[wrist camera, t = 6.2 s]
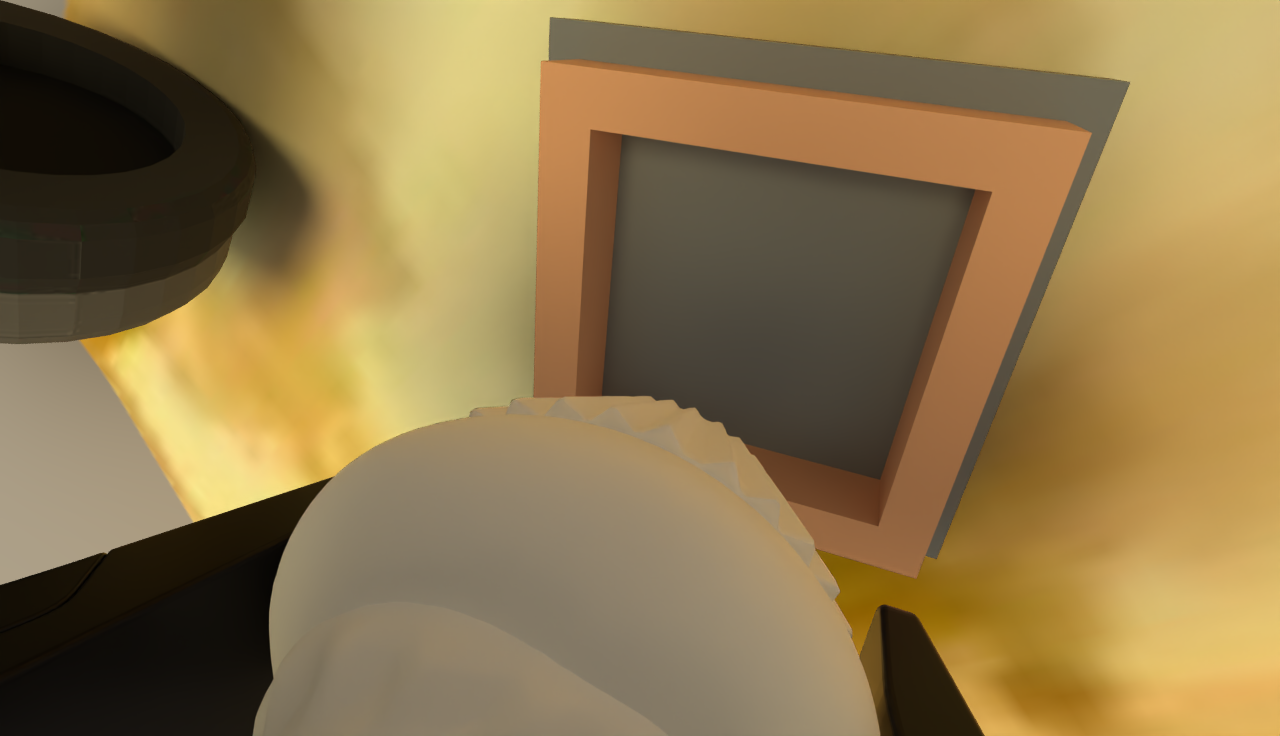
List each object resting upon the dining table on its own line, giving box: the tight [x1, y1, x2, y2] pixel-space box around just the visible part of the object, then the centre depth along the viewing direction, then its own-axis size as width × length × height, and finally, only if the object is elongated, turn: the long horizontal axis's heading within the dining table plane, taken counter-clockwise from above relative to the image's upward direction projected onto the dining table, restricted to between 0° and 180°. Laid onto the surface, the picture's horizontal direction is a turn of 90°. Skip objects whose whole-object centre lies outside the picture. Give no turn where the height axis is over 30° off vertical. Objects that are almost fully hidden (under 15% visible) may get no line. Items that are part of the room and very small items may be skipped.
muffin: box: [253, 396, 880, 736], centre depth 7 cm, size 6×6×7 cm
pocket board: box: [534, 17, 1130, 579], centre depth 17 cm, size 12×12×4 cm
